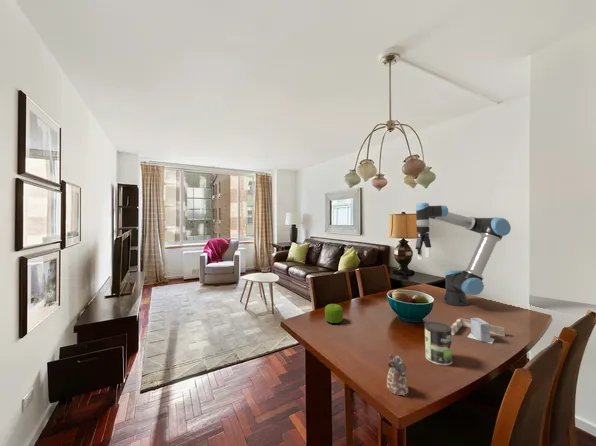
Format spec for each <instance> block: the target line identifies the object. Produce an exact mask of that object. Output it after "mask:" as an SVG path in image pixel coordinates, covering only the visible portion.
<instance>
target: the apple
mask: <svg viewBox="0 0 596 446" xmlns="http://www.w3.org/2000/svg"><path fill="white" fill-rule="evenodd" d="M343 309H344V308H343V307H342V306H341V305H340V304H338V303H329V304H327V305H326V306H325V307H324V316H325V320H326V322H328V323H329V322H330V323H329V324H331V323H337V324H339V323H341V322H343V319H344V310H343Z"/></svg>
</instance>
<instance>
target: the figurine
mask: <svg viewBox="0 0 596 446" xmlns="http://www.w3.org/2000/svg"><path fill="white" fill-rule="evenodd" d="M388 357H389V360H388V363H387V366H388V369H389V370H388V373H387V377H386V388H387V389H389V390H388V391H389V392H390V391H391V392H392V393H394V394H397V395H403V396H406V395H405V394H407V393H408V394H409V385H408V382H407V381H408V380H407V375H406V371H407V366H406V365H405V363H404V360H403V359H402V357H401V356H399V355H395V356H393V355H392V354H391V353H390V354H388ZM392 364H393V365H392ZM391 392H390V393H391ZM392 393H391V394H392ZM394 394H393V395H394ZM408 394H407V395H408ZM397 395H396V396H397Z"/></svg>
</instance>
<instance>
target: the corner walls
mask: <svg viewBox="0 0 596 446" xmlns="http://www.w3.org/2000/svg"><path fill="white" fill-rule="evenodd" d="M489 325H490V334H492V335H496V336H501V337H505V336H506V333H505V332H506V328H505V327H502V326H499V325H493V324H491V323H489ZM450 327H451V329H452V331H451V336H455V335H456V334H457V332H458V331H459V330H460V329H461V328H462V327H464V328H469V329H471V319H467V318H463V317H458V318H457V319H456V321H454V322H453V323H452V324H451V326H450Z"/></svg>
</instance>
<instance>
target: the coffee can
mask: <svg viewBox="0 0 596 446" xmlns="http://www.w3.org/2000/svg"><path fill="white" fill-rule="evenodd" d="M451 331H452V329H451V326H450V325H447V324H445V323H442V322H438V321H427V322H425V323H424V346H425V347H424V348H425V350H424V352H425V359H426V360H427V361H429V362H430V363H432V364H434V365H438V366H450V365H452V364H453V350H452V348H453V347H452V346H453V345H452V335H451Z"/></svg>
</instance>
